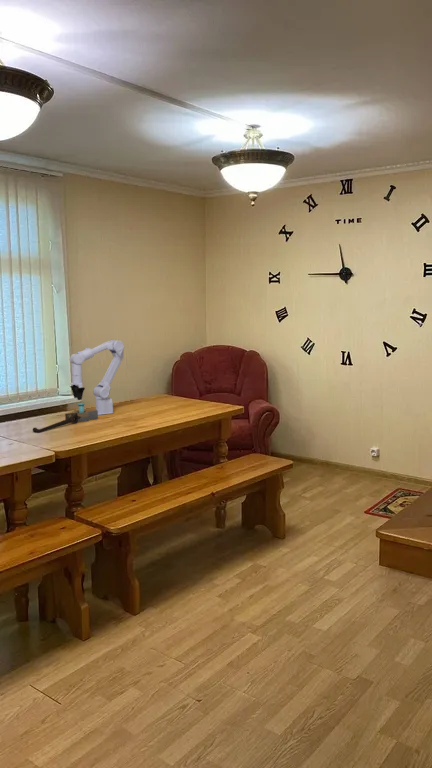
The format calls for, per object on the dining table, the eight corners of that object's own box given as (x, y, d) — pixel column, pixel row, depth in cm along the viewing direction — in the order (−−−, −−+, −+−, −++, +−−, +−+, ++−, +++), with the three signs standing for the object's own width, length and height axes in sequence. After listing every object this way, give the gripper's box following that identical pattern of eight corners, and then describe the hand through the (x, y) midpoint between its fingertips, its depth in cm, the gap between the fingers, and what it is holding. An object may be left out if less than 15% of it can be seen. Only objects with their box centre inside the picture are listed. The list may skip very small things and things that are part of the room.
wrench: (32, 435, 320) (75, 420, 344) (38, 436, 317) (82, 421, 342) (31, 425, 319) (74, 411, 343) (37, 427, 316) (81, 412, 340)
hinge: (96, 417, 352) (95, 409, 351) (99, 419, 347) (98, 410, 346) (64, 421, 344) (63, 412, 343) (67, 423, 339) (66, 414, 338)
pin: (84, 419, 348) (83, 402, 346) (86, 420, 344) (85, 403, 343) (77, 420, 346) (76, 403, 345) (79, 421, 343) (78, 404, 341)
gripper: (66, 374, 358) (67, 397, 359) (73, 376, 345) (74, 401, 347) (79, 373, 361) (79, 396, 363) (85, 376, 348) (86, 400, 350)
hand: (77, 398), depth 355 cm, fingers open, 7 cm apart
